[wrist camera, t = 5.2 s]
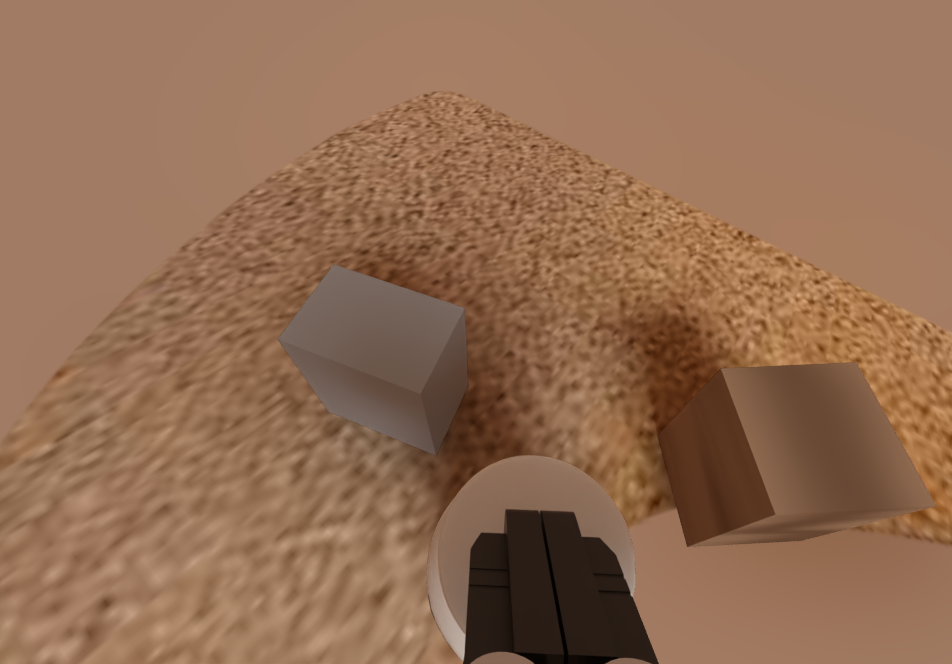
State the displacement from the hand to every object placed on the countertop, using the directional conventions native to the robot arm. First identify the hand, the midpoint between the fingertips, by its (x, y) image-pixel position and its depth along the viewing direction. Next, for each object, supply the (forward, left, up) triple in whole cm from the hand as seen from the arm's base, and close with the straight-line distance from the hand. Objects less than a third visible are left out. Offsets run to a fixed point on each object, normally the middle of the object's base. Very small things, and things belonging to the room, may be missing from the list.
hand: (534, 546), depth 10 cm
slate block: (+7, -7, -11) cm, 15 cm away
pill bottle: (0, 0, -11) cm, 11 cm away
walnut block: (-9, -6, -11) cm, 15 cm away
